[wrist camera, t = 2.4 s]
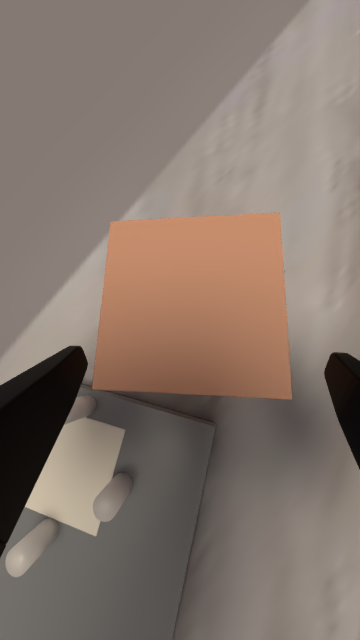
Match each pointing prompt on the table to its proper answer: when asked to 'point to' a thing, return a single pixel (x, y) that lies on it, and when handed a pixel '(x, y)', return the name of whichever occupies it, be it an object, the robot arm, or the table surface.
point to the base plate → (107, 525)
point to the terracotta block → (195, 308)
